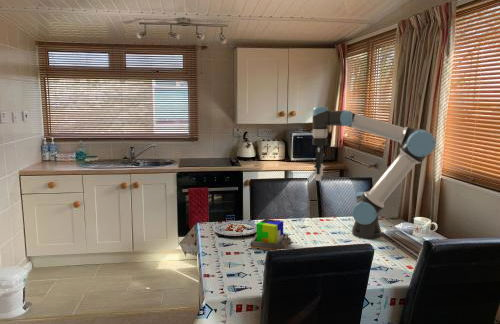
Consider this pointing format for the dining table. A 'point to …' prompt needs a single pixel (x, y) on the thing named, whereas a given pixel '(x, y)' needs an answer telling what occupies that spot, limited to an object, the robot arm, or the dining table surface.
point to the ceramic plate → (237, 228)
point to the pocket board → (270, 244)
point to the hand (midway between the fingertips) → (319, 178)
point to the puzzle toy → (270, 231)
